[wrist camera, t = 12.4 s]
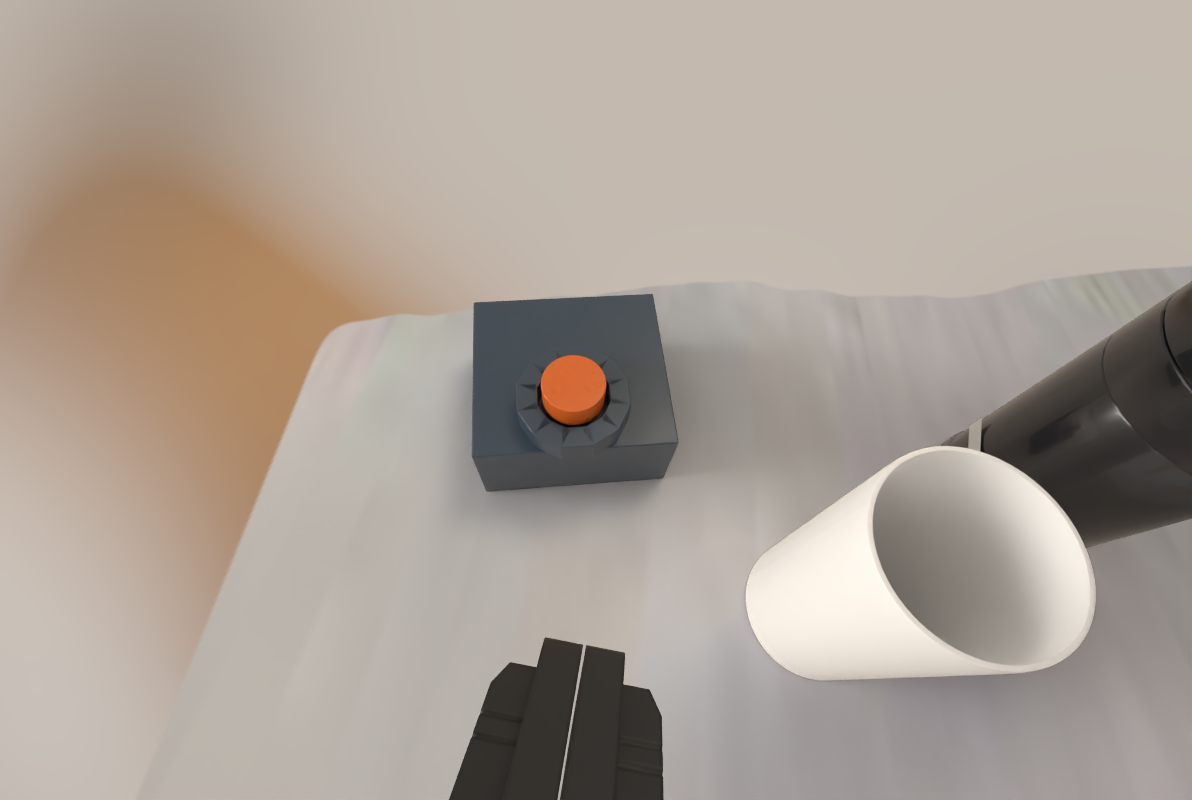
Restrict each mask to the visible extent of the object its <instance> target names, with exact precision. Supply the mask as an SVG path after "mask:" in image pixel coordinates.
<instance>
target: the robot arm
mask: <svg viewBox="0 0 1192 800" xmlns="http://www.w3.org/2000/svg"><path fill="white" fill-rule="evenodd" d="M941 446H954V447H962V448H968V449H972V450H976V451H980V452H983V453H986V454H989V455H991V456H994V457H996V458H998V459H1000V460H1002V461H1004V462H1006V463H1008V464H1010V465H1012V466H1013V467H1015V468H1017V469H1019V470H1020V471H1021V472H1023V473H1024V474H1026V475H1027V476H1029V477H1030V478H1031V479H1033V480H1034V481H1035V482H1036V483H1038V484H1039V485H1040V486H1041V487H1042V488H1043V489H1044V490H1045V491H1046V492H1047V493H1048V494H1049V495H1050V496H1051V497H1052V498H1053V499H1054V500H1055V501H1056V502H1057V503H1058V504H1059V506H1060V507H1061V508H1062V509H1063V510H1064V512H1065V513H1066V515H1067V516H1068V517H1069V519H1070V520H1071V522H1072V523H1073V525H1074V526H1075V528H1076V530H1077V531H1078V533H1079V535H1080V537H1081V539H1082V541H1083V543H1084V545H1085V548H1087V547H1091V546H1095V545H1098V544H1102V543H1105V542H1109V541H1113V540H1116V539H1120V538H1123V537H1127V536H1131V535H1134V534H1138V533H1142V532H1145V531H1149V530H1152V529H1156V528H1160V527H1163V526H1167V525H1170V524H1174V523H1178V522H1181V521H1185V520H1189V519H1192V281H1191V282H1190V283H1188V284H1187V285H1185V286H1184V287H1182V288H1181V289H1179V290H1178V291H1176V292H1175V293H1173V294H1172V295H1170V296H1169V297H1167V298H1165V299H1164V300H1162V301H1161V302H1159V303H1158V304H1156V305H1155V306H1153V307H1152V308H1150V309H1149V310H1147V311H1146V312H1144V313H1143V314H1141V315H1140V316H1138V317H1137V318H1135V319H1134V320H1132V321H1131V322H1129V323H1128V324H1126V325H1124V326H1123V327H1122V328H1120V329H1119V330H1117V331H1116V332H1114V333H1113V334H1111V335H1110V336H1108V337H1107V338H1105V339H1104V340H1102V341H1101V342H1099V343H1098V344H1096V345H1095V346H1093V347H1092V348H1090V349H1089V350H1087V351H1085V352H1084V353H1082V354H1081V355H1079V356H1078V357H1076V358H1075V359H1073V360H1072V361H1070V362H1069V363H1067V364H1066V365H1064V366H1063V367H1061V368H1060V369H1058V370H1057V371H1055V372H1054V373H1052V374H1050V375H1049V376H1047V377H1046V378H1044V379H1043V380H1041V381H1040V382H1038V383H1037V384H1035V385H1034V386H1032V387H1031V388H1029V389H1028V390H1026V391H1025V392H1023V393H1022V394H1020V395H1019V396H1017V397H1015V398H1014V399H1012V400H1011V401H1009V402H1008V403H1006V404H1005V405H1003V406H1002V407H1000V408H999V409H997V410H996V411H994V412H993V413H991V414H990V415H988V416H986V417H985V418H983V419H982V418H980V419H979V420H977V421H976V422H974V423H973V424H971V425H970V426H969V428H968V429H967V430H965V431H963V432H960V433H958V434H956V435H955V436H953V437H952V438H950V439H949V440H947V441H946V442H945V443H943V444H942V445H941ZM582 648H583V645H582V644H576V643H571V642H566V641H561V640H556V639H551V638H546V637H545V639H544V642H543V646H542V649H541V653H540V657H539V661H538V664H537V667H532V666H527V665H521V664H516V663H511V662H510V663H509V664H508V665H507V666H506V667H505V668H504V669H503V670H502V671H501V672H500V674H499V675H498V676H497V677H496V678H495V679H494V680H493V681H492V682H491V684H490V686H489V689H488V692H487V695H486V698H485V700H484V703H483V706H482V709H481V713H480V715H479V717H478V720H477V723H476V726H475V728H474V731H473V736H472V738H471V740H470V743H469V745H468V748H467V751H466V754H465V757H464V759H463V762H462V765H461V768H460V771H459V773H458V776H457V779H456V782H455V785H454V787H453V790H452V793H451V796H450V799H449V800H557V798H558V792H559V786H560V780H561V774H562V768H563V762H564V756H565V750H566V744H567V738H568V732H569V726H570V720H571V714H572V708H573V702H574V696H575V690H576V684H577V678H578V672H579V666H580V660H581V654H582ZM624 664H625V653H623V652H618V651H613V650H608V649H603V648H598V647H593V646H588V645H586V650H585V656H584V661H583V667H582V672H581V678H580V683H579V689H578V695H577V700H576V706H575V711H574V717H573V723H572V729H571V735H570V741H569V747H568V753H567V759H566V766H565V772H564V778H563V784H562V790H561V797H560V800H663V777H662V772H663V755H662V716H661V714H660V712H659V709H658V707H657V705H656V703H655V701H654V698H653V696H652V694H651V692H650V690H649V689H644V688H639V687H634V686H628V685H623V680H624Z"/></svg>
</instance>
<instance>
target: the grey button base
mask: <svg viewBox="0 0 1192 800" xmlns="http://www.w3.org/2000/svg"><path fill="white" fill-rule="evenodd" d="M569 355H578V356H583V357H586V358H589V359H591V360H592V361H594V362H595V363H596V364H598V365H599V367H600V368H601V369H602V371H603V372H604V375H605V377H606V392H605V401H604V405H603V408H602V410H601V411H600V413H599V414H598V415H597V416H596V417H595V418H594V419H592V420H591V421H589V422H587V423H584V424H580V425H567V424H563V423H560V422H558V421H556V420H555V419H553V418H552V417H551V416H550V415H549V414H548V413H547V411H546V410H545V408H544V405H543V401H542V391H541V378H542V375H543V373H544V371H545V369H546V368H547V367H548V366H549V364H551V363H552V362H553V361H555V360H556V359H558V358H561V357H564V356H569ZM677 445H678V437H677V431H676V425H675V419H674V414H673V408H672V402H671V396H670V391H669V385H668V379H667V373H666V367H665V362H664V356H663V350H662V344H661V339H660V333H659V327H658V321H657V316H656V310H655V304H654V298H653V294H645V295H623V296H602V297H581V298H560V299H539V300H518V301H496V302H477V303H476V302H475V303H474V324H473V403H472V458H473V460H474V463H475V465H476V467H477V470H478V472H479V475H480V477H481V479H482V482H483V484H484V487H485V489H486V491H498V490H511V489H525V488H538V487H552V486H565V485H579V484H592V483H606V482H620V481H633V480H647V479H660V478H663V477H664V474H665V472H666V470H667V468H668V465H669V463H670V461H671V458H672V456H673V454H674V452H675V449H676V447H677Z"/></svg>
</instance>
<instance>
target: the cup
mask: <svg viewBox="0 0 1192 800" xmlns="http://www.w3.org/2000/svg"><path fill="white" fill-rule="evenodd" d="M1095 603H1096V587H1095V579H1094V573H1093V569H1092V565H1091V561H1090V558H1089V555H1088V552H1087V550H1086V548H1085V545H1084V543H1083V541H1082V539H1081V537H1080V535H1079V533H1078V531H1077V530H1076V528H1075V526H1074V525H1073V523H1072V522H1071V520H1070V519H1069V517H1068V516H1067V515H1066V513H1065V512H1064V510H1063V509H1062V508H1061V507H1060V506H1059V504H1058V503H1057V502H1056V501H1055V500H1054V499H1053V498H1052V497H1051V496H1050V495H1049V494H1048V493H1047V492H1046V491H1045V490H1044V489H1043V488H1042V487H1041V486H1040V485H1039V484H1038V483H1036V482H1035V481H1034V480H1033V479H1031V478H1030V477H1029V476H1027V475H1026V474H1024V473H1023V472H1021V471H1020V470H1019V469H1017V468H1015V467H1013V466H1012V465H1010V464H1008V463H1006V462H1004V461H1002V460H1000V459H998V458H996V457H994V456H991V455H989V454H986V453H983V452H980V451H976V450H972V449H968V448H962V447H954V446H936V447H928V448H924V449H920V450H917V451H914V452H911V453H909V454H907V455H905V456H902V457H900V458H898V459H897V460H895V461H893V462H892V463H890V464H889V465H888V466H886V467H885V468H883V469H882V470H880V471H879V472H878V473H876V474H875V475H873V476H872V477H870V478H869V479H868V480H866V481H865V482H863V483H862V484H860V485H859V486H858V487H856V488H855V489H853V490H852V491H851V492H849V493H848V494H846V495H845V496H844V497H842V498H841V499H839V500H838V501H837V502H835V503H834V504H832V505H831V506H829V507H828V508H827V509H825V510H824V511H822V512H821V513H820V514H818V515H817V516H815V517H814V518H813V519H811V520H810V521H808V522H807V523H805V524H804V525H803V526H801V527H800V528H798V529H797V530H796V531H794V532H793V533H791V534H790V535H789V536H787V537H786V538H784V539H783V540H782V541H780V542H779V543H777V544H776V545H774V546H773V547H772V548H770V549H769V550H768V551H766V552H765V553H764V554H763V555H762V556H761V557H760V558H759V559H758V561H757V562H756V563H755V565H754V567H753V568H752V571H751V573H750V575H749V578H748V582H747V587H746V608H747V614H748V618H749V621H750V624H751V627H752V629H753V631H754V633H755V635H756V637H757V639H758V641H759V642H760V644H761V645H762V647H763V648H764V649H765V650H766V652H767V653H768V654H769V655H770V656H771V657H772V658H773V659H774V660H775V661H776V662H777V663H779V664H780V665H781V666H783V667H784V668H786V669H787V670H789V671H791V672H793V673H795V674H797V675H799V676H802V677H805V678H808V679H813V680H821V681H828V680H856V679H883V678H911V677H938V676H965V675H991V674H1015V673H1025V672H1031V671H1036V670H1040V669H1043V668H1047V667H1050V666H1052V665H1054V664H1057V663H1059V662H1060V661H1062V660H1064V659H1065V658H1067V657H1068V656H1069V655H1070V654H1072V653H1073V652H1074V651H1075V650H1076V649H1077V648H1078V646H1079V645H1080V644H1081V643H1082V641H1083V640H1084V638H1085V637H1086V635H1087V633H1088V631H1089V628H1090V626H1091V623H1092V620H1093V617H1094V611H1095Z"/></svg>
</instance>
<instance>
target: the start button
mask: <svg viewBox="0 0 1192 800" xmlns="http://www.w3.org/2000/svg"><path fill="white" fill-rule="evenodd" d="M541 391H542V401H543V405H544V408H545V410H546V411H547V413H548V414H549V415H550V416H551V417H552V418H553V419H555V420H556V421H558V422H560V423H563V424H567V425H580V424H584V423H587V422H589V421H591V420H592V419H594V418H595V417H596V416H597V415H598V414H599V413H600V411H601V410H602V408H603V405H604V401H605V392H606V377H605V375H604V372H603V371H602V369H601V368H600V367H599V365H598V364H596V363H595V362H594V361H592V360H591V359H589V358H586V357H583V356H578V355H569V356H564V357H561V358H558V359H556V360H555V361H553V362H552V363H551V364H549V366H548V367H547V368H546V369H545V371H544V373H543V375H542V378H541Z"/></svg>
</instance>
